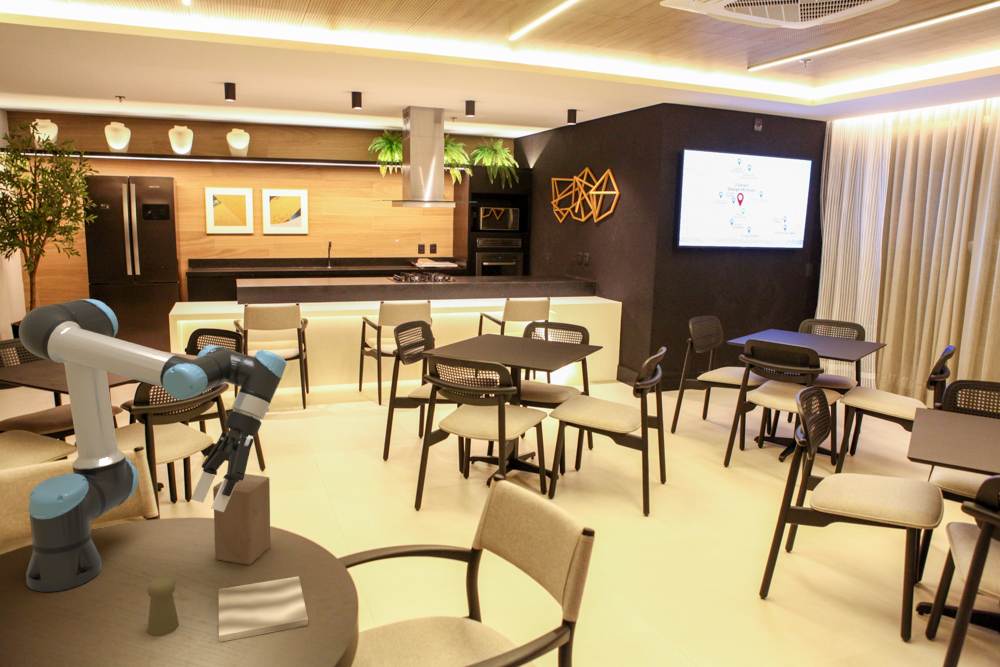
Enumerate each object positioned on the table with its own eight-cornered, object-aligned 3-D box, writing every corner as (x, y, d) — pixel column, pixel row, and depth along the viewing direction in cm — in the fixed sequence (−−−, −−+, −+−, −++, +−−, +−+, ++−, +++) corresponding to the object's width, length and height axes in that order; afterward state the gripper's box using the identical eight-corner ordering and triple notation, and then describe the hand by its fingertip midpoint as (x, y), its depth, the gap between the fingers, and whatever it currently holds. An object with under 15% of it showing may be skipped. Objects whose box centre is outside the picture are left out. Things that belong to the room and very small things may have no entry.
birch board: (218, 595, 155) (218, 589, 154) (298, 581, 162) (298, 576, 161) (219, 642, 139) (218, 635, 138) (308, 625, 146) (308, 619, 145)
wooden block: (250, 566, 168) (248, 491, 164) (214, 560, 169) (212, 486, 166) (271, 546, 177) (270, 476, 174) (237, 541, 179) (235, 471, 175)
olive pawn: (157, 639, 138) (155, 591, 136) (141, 629, 141) (138, 582, 139) (184, 625, 143) (182, 578, 141) (168, 615, 146) (166, 569, 144)
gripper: (283, 424, 147) (243, 519, 140) (241, 418, 165) (204, 501, 159) (252, 412, 142) (209, 509, 136) (213, 407, 161) (173, 492, 154)
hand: (206, 505), depth 147 cm, fingers open, 13 cm apart
